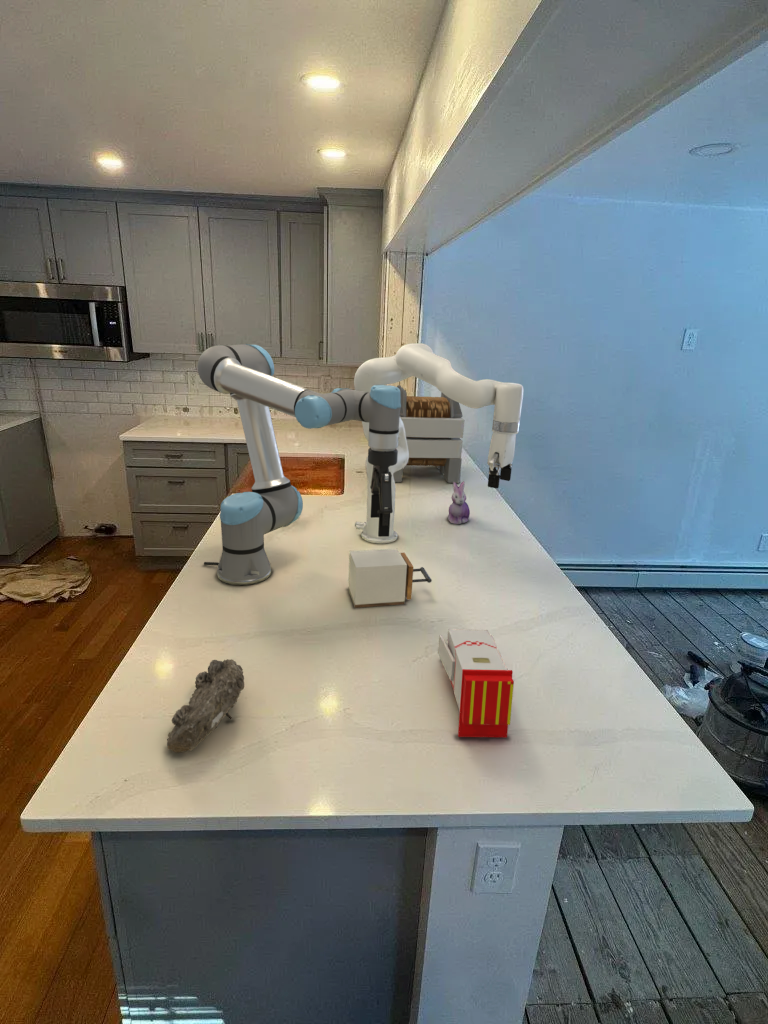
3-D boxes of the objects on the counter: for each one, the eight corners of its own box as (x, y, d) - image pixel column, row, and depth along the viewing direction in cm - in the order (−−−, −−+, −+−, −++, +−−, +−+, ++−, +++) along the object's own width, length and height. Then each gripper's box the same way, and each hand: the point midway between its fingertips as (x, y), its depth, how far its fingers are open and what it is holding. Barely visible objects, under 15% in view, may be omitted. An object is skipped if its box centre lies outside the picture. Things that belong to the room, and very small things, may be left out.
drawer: (421, 582, 163) (424, 551, 160) (431, 597, 154) (434, 565, 151) (360, 586, 159) (361, 554, 156) (366, 602, 150) (368, 569, 147)
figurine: (455, 526, 209) (459, 487, 204) (440, 517, 217) (443, 479, 212) (476, 523, 213) (480, 485, 208) (460, 514, 221) (464, 477, 216)
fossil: (192, 660, 117) (244, 628, 112) (224, 691, 120) (276, 661, 115) (142, 746, 98) (202, 712, 93) (182, 779, 101) (242, 748, 96)
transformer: (382, 463, 289) (386, 382, 275) (445, 464, 293) (451, 384, 279) (390, 482, 257) (394, 392, 243) (460, 483, 261) (468, 394, 247)
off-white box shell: (395, 586, 162) (397, 548, 158) (404, 604, 153) (407, 564, 149) (348, 589, 159) (349, 550, 155) (354, 607, 150) (356, 567, 146)
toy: (488, 613, 130) (523, 677, 101) (484, 667, 133) (517, 744, 104) (435, 612, 130) (455, 676, 101) (432, 666, 133) (451, 743, 103)
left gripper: (407, 461, 132) (402, 544, 140) (389, 437, 156) (385, 510, 163) (375, 461, 131) (372, 545, 138) (362, 437, 154) (359, 510, 161)
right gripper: (503, 420, 172) (497, 475, 178) (481, 429, 158) (475, 488, 164) (527, 424, 168) (520, 479, 174) (507, 433, 154) (500, 493, 160)
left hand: (379, 526), depth 151 cm, fingers open, 13 cm apart
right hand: (499, 483), depth 169 cm, fingers open, 9 cm apart
